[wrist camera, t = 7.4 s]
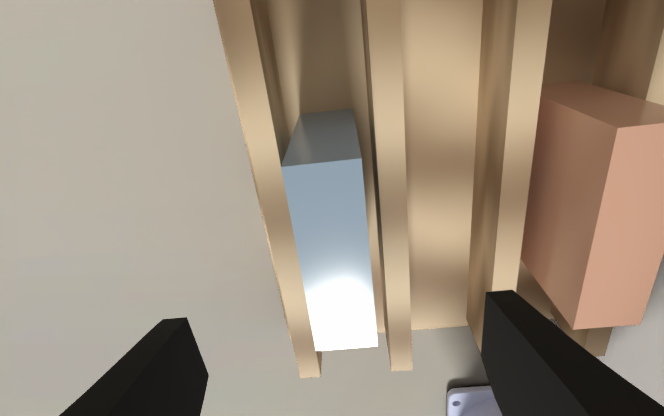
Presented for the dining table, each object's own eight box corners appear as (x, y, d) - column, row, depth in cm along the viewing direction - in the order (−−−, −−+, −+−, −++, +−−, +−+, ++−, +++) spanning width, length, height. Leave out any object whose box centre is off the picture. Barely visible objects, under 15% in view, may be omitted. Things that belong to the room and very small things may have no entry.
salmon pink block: (551, 232, 18) (640, 324, 13) (504, 237, 18) (572, 329, 13) (576, 80, 15) (707, 118, 10) (519, 87, 15) (617, 128, 10)
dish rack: (574, 303, 22) (622, 361, 18) (292, 326, 22) (283, 386, 19) (661, -98, 13) (779, -136, 10) (212, -33, 14) (172, -48, 11)
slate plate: (366, 251, 19) (377, 346, 14) (321, 255, 19) (315, 351, 14) (352, 108, 16) (361, 158, 10) (299, 114, 16) (280, 166, 10)
